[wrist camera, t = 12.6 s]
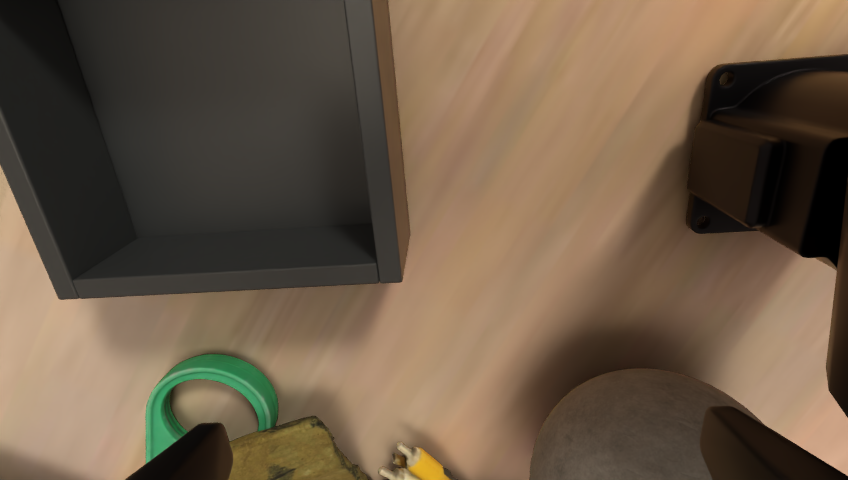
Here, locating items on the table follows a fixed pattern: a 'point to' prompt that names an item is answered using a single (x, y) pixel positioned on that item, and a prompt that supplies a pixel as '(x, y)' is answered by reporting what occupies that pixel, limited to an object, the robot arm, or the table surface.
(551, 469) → the decorative ball
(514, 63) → the table surface
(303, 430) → the green leaf
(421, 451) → the composite cable
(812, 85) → the robot arm
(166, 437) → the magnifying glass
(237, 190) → the basket
